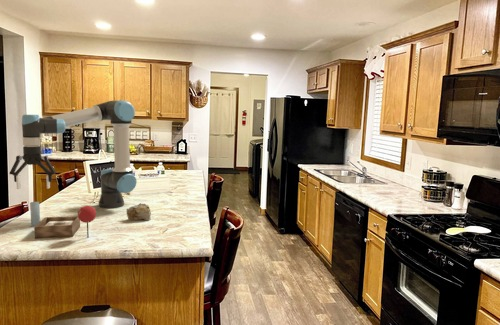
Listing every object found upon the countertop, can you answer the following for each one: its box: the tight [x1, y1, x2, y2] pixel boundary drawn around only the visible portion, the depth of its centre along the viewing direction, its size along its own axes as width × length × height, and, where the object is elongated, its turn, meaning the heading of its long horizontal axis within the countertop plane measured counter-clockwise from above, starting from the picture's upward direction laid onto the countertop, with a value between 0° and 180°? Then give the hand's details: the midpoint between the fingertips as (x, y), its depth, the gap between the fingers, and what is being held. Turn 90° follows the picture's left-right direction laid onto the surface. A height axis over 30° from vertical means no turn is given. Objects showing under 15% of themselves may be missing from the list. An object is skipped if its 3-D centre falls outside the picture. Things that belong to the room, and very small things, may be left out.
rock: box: [126, 202, 152, 221], centre depth 209 cm, size 12×7×10 cm, turn 91°
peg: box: [29, 201, 41, 228], centre depth 192 cm, size 4×4×12 cm
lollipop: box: [77, 205, 97, 239], centre depth 175 cm, size 8×8×15 cm
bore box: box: [33, 215, 81, 239], centre depth 183 cm, size 16×16×6 cm
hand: (33, 188), depth 190 cm, fingers open, 13 cm apart
